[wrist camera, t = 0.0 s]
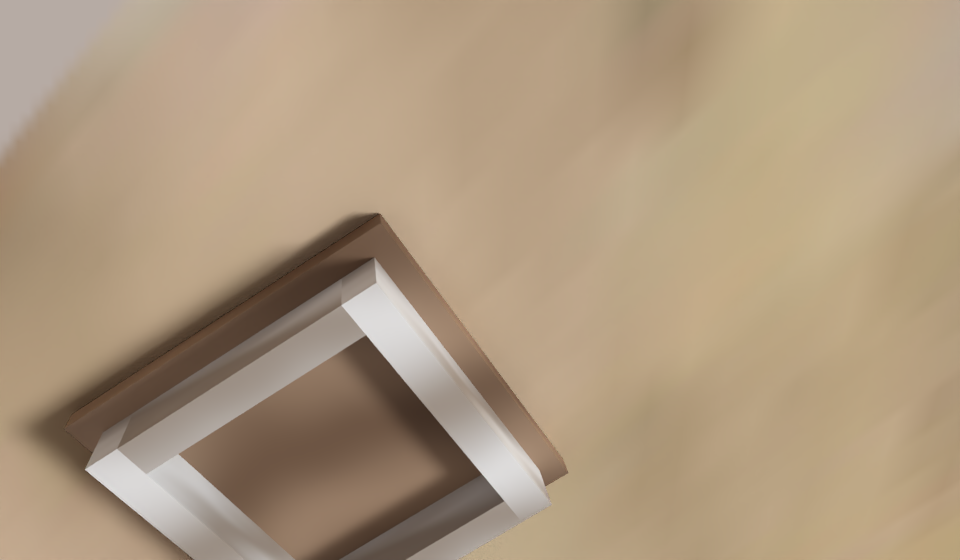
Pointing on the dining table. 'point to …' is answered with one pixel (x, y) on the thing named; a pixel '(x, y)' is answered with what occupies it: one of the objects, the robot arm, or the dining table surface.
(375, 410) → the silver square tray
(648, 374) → the dining table surface
